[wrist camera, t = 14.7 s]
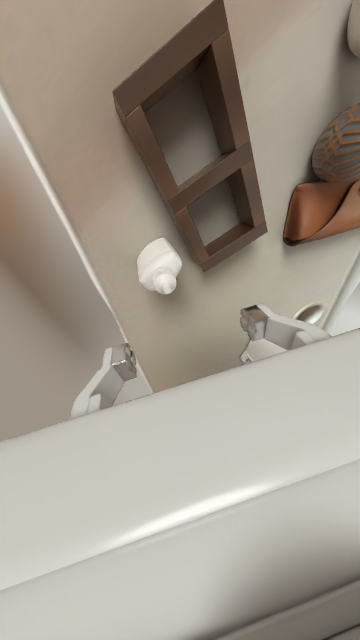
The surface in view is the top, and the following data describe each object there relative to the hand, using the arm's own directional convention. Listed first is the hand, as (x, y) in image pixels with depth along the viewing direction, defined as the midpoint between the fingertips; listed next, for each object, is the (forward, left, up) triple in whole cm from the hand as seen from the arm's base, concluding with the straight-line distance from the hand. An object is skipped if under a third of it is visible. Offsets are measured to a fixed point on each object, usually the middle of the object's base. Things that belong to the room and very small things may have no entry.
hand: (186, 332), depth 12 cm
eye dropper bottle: (0, 0, -19) cm, 19 cm away
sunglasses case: (-9, -29, -19) cm, 36 cm away
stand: (+5, -10, -18) cm, 21 cm away
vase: (-1, -27, -19) cm, 33 cm away
